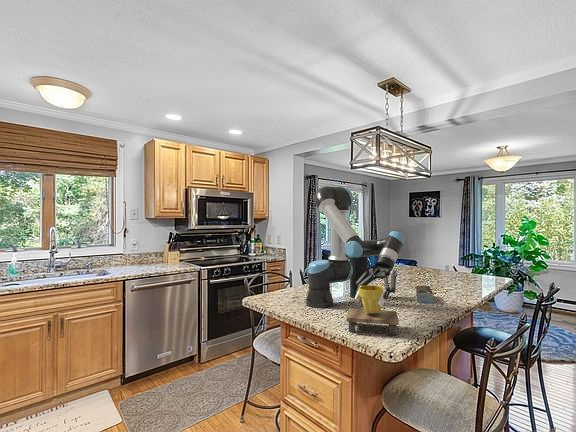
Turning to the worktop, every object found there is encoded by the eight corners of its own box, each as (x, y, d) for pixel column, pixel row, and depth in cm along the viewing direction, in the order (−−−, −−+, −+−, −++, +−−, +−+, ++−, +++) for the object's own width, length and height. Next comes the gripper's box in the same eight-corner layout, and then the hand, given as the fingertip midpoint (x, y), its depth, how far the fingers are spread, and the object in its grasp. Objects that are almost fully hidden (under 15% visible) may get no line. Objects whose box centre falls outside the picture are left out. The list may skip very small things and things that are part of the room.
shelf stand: (346, 332, 125) (346, 317, 125) (349, 321, 139) (349, 308, 139) (399, 336, 120) (398, 321, 120) (396, 325, 133) (396, 311, 133)
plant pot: (357, 313, 127) (357, 289, 127) (361, 306, 136) (360, 284, 136) (384, 315, 123) (383, 291, 123) (385, 308, 132) (385, 285, 133)
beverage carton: (418, 303, 169) (417, 291, 169) (415, 295, 187) (415, 284, 187) (434, 304, 166) (433, 292, 166) (430, 296, 184) (430, 285, 185)
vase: (346, 297, 185) (346, 246, 185) (355, 293, 193) (354, 245, 193) (362, 299, 178) (361, 247, 179) (370, 296, 186) (369, 246, 187)
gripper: (414, 268, 132) (397, 313, 121) (367, 263, 149) (348, 302, 138) (408, 257, 129) (390, 302, 117) (360, 253, 145) (341, 292, 134)
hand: (367, 302), depth 128 cm, fingers closed on plant pot, 10 cm apart
